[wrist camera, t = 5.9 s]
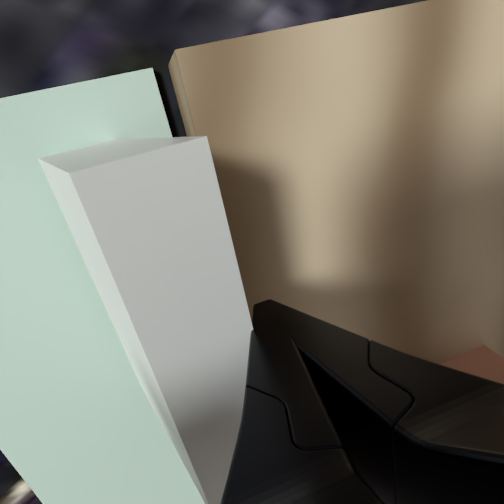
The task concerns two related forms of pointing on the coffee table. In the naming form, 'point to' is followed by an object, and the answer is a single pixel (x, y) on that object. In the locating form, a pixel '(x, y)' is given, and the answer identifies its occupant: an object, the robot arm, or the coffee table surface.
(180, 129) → the coffee table surface
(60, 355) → the mat
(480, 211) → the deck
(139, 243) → the white rectangular block
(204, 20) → the coffee table surface
